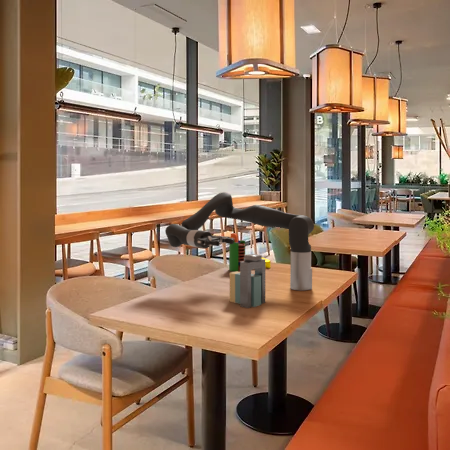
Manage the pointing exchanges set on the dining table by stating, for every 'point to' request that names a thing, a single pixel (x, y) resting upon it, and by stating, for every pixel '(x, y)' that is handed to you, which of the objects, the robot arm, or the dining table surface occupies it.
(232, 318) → the dining table surface
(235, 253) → the motor
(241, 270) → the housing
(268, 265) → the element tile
